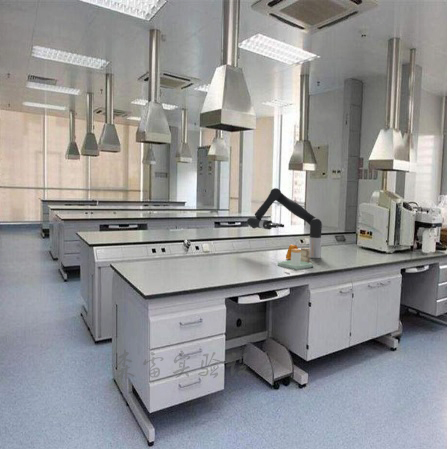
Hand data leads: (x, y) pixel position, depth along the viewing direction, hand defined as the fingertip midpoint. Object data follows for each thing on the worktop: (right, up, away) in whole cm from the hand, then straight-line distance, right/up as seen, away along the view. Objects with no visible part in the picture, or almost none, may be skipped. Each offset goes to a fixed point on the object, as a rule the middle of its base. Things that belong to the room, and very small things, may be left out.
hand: (280, 226), depth 290 cm
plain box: (+18, -29, -6) cm, 35 cm away
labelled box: (+9, -29, -17) cm, 35 cm away
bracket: (+13, -28, +11) cm, 32 cm away
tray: (+9, -30, -17) cm, 35 cm away
